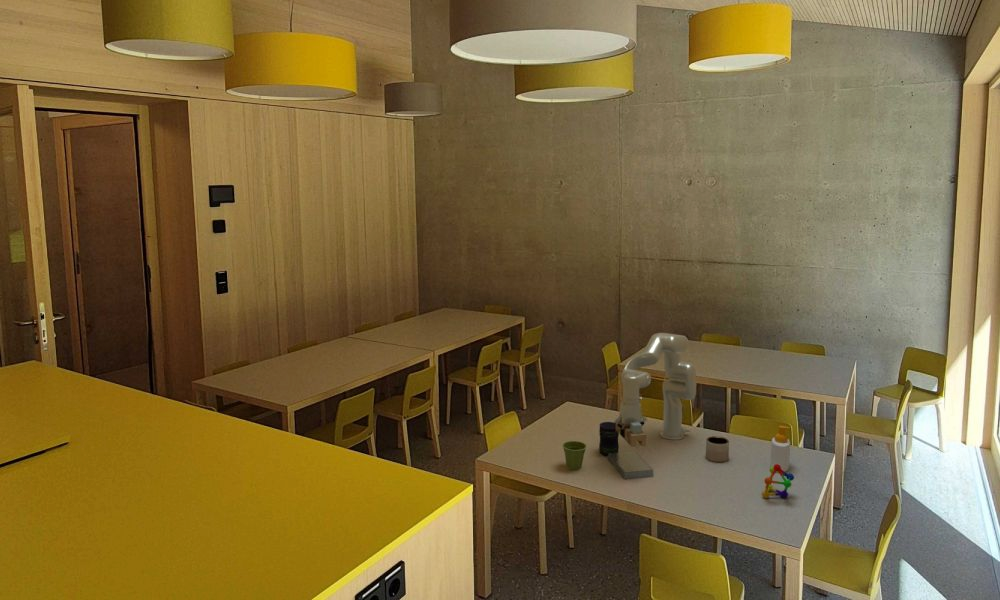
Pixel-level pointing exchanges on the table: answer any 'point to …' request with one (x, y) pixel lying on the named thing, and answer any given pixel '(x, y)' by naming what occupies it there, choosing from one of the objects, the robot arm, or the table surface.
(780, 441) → the soap bottle
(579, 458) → the plant pot
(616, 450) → the storage jar
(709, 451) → the planter
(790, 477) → the educational toy
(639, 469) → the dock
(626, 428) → the wooden block carrier
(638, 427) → the block
